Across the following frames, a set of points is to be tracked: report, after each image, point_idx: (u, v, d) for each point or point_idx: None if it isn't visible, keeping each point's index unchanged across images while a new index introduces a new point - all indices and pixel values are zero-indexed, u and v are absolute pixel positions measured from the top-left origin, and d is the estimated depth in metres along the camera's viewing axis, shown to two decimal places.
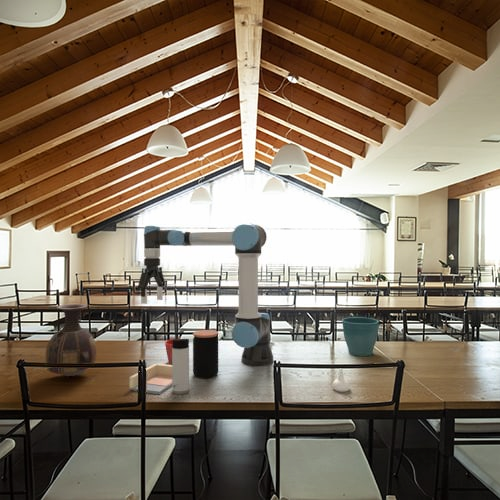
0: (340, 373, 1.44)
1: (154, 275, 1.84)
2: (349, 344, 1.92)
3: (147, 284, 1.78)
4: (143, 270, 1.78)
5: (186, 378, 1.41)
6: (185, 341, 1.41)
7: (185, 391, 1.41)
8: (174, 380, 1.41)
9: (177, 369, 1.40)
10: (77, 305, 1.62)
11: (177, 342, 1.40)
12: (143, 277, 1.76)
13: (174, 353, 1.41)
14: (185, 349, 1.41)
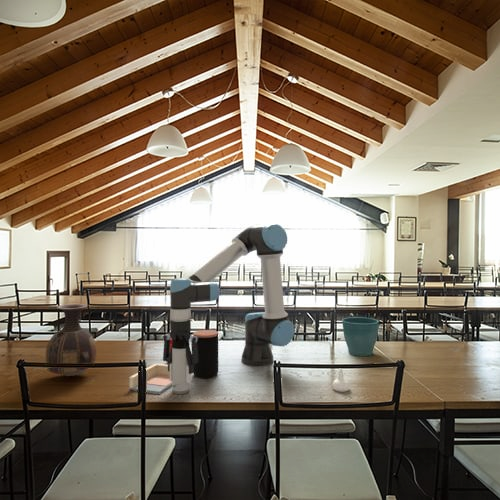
0: (340, 373, 1.44)
1: None
2: (349, 344, 1.92)
3: (171, 356, 1.43)
4: None
5: None
6: (185, 341, 1.41)
7: (185, 391, 1.41)
8: (174, 380, 1.41)
9: (177, 369, 1.40)
10: (77, 305, 1.62)
11: (177, 342, 1.40)
12: None
13: (174, 353, 1.41)
14: (185, 349, 1.41)
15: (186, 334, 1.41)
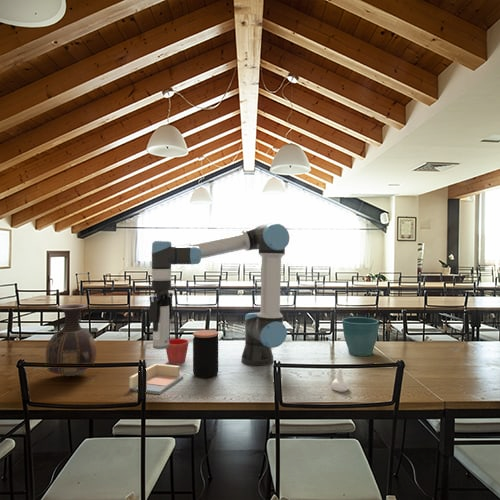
0: (339, 373, 1.44)
1: None
2: (349, 344, 1.92)
3: (159, 315, 1.48)
4: (151, 299, 1.46)
5: None
6: None
7: None
8: (166, 336, 1.50)
9: (168, 324, 1.51)
10: (77, 305, 1.62)
11: (168, 299, 1.51)
12: (153, 308, 1.45)
13: (166, 310, 1.50)
14: None
15: (167, 291, 1.54)
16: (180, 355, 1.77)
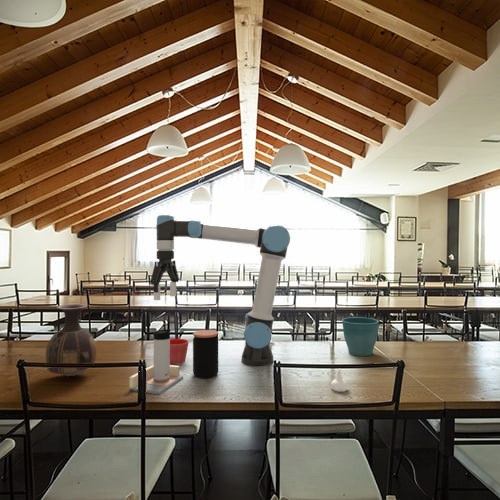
0: (338, 373, 1.44)
1: (167, 269, 1.69)
2: (349, 344, 1.92)
3: (160, 279, 1.63)
4: (155, 263, 1.62)
5: None
6: None
7: None
8: (166, 369, 1.50)
9: (168, 357, 1.51)
10: (77, 305, 1.62)
11: (168, 332, 1.51)
12: (156, 271, 1.61)
13: (166, 343, 1.50)
14: None
15: (170, 261, 1.71)
16: (180, 355, 1.77)
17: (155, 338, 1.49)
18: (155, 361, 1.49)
